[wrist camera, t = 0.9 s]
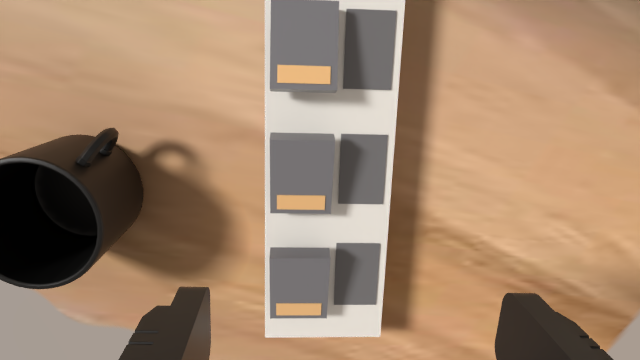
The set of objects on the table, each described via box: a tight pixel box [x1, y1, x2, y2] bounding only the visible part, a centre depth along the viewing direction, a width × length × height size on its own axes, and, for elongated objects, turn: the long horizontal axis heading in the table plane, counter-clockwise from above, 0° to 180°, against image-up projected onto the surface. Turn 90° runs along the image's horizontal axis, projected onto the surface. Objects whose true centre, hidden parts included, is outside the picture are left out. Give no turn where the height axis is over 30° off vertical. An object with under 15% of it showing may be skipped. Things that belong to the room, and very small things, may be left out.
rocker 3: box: [269, 247, 331, 319], centre depth 36 cm, size 6×5×2 cm
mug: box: [0, 128, 143, 289], centre depth 35 cm, size 9×12×9 cm
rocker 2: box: [270, 132, 335, 214], centre depth 34 cm, size 6×5×2 cm
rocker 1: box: [270, 0, 339, 93], centre depth 32 cm, size 6×5×2 cm
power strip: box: [265, 0, 405, 337], centre depth 38 cm, size 30×10×4 cm, turn 178°
